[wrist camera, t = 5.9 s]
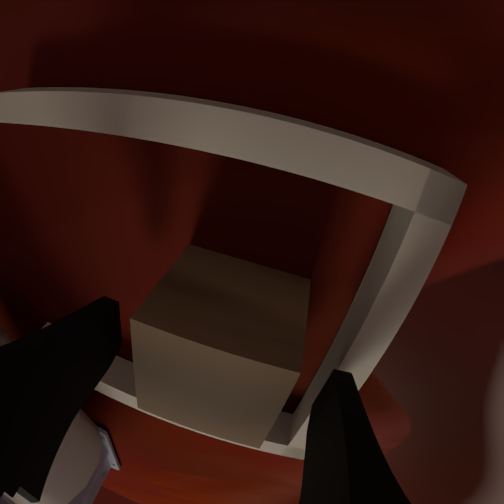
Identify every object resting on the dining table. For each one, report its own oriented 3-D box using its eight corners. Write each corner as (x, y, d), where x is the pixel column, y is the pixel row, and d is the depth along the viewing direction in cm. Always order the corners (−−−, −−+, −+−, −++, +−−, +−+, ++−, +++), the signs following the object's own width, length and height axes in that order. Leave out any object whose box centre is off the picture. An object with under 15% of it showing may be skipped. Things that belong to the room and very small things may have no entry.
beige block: (278, 361, 14) (259, 448, 10) (181, 330, 14) (137, 407, 10) (310, 278, 11) (300, 373, 7) (190, 243, 12) (130, 317, 8)
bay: (307, 429, 15) (303, 459, 14) (51, 335, 17) (33, 355, 15) (442, 168, 8) (467, 184, 7) (28, 87, 10) (-6, 93, 8)
